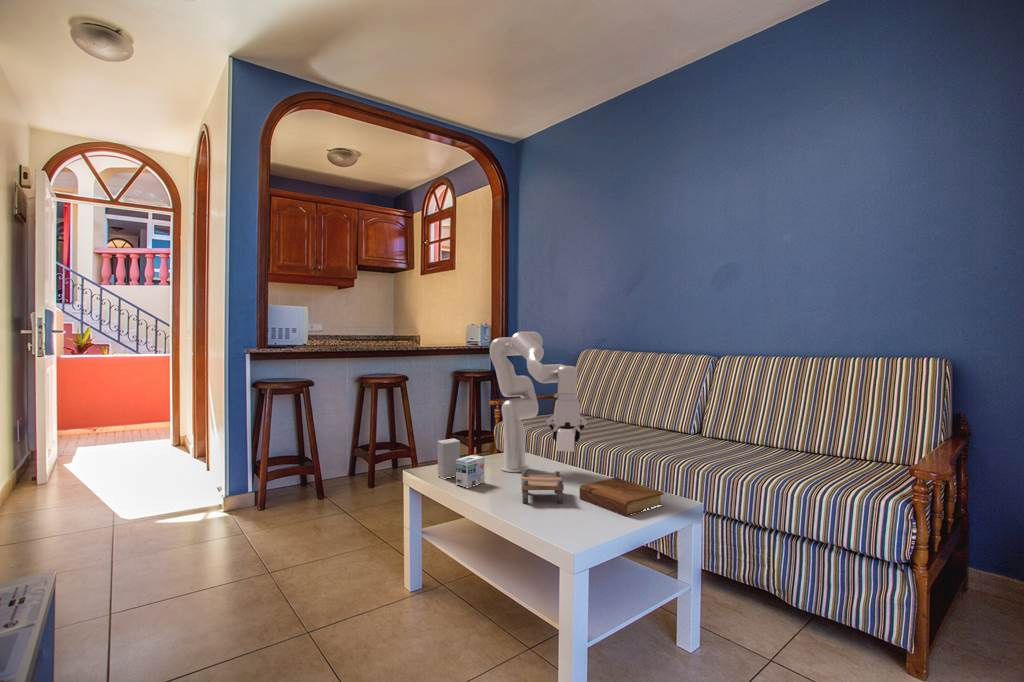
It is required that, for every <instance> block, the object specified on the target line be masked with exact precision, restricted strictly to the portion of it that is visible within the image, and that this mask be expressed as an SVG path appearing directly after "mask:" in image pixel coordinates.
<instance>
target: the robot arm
mask: <svg viewBox="0 0 1024 682" xmlns="http://www.w3.org/2000/svg"><path fill="white" fill-rule="evenodd" d="M543 343H544V341H543V337H542V335H541V334H540V333H538V332H537V331H517V332H515V333H514V334H513V335H512V336H511V337H508V336H507V337H498V338H495V339H493V340H492V341H491V343H490V346H489V357H490V360H491V363H492V364H493V367H494V370H495V373H496V378H497V382H498V387H499V390H500V393H501V395H502V396H503V397H505V398H511V397H512V399H508V400H505V401H504V402H503V403H502V405H501V417H502V421H503V464H502V465H501V466H500V470H502V471H503V472H507V473H522V472H523V471H526V472H528V470H529V465H527V464H526V430H525V426H524V424H523V422H522V421H521V420H528V419H534V418H536V416H538V414H539V401H538V399H537V395H536V394H537V393H536V392H535V387H534V384H533V381H532V380H531V378H530V377H529V376H527V375H517V374H516V371H515V367H514V365H513V363H512V362H511V361H510V360H509V359H508V357H509V356H510V357H511V356H513V357H514V356H521V357H523V358H524V359H525V360H526V368H527V372H528V373H529V375H530V376H532V377H533V378H534V380H535V381H537V382H538V383H541V384H553V383H554V384H555V383H556V384H557V392H556V393H554V394H553V398H556V399H555V404H554V408H553V409H554V411H553V415H551V416H550V417H549V418H547V419H545V423H546V424H547V426H548V427H549V428H550V429H551V430H552V434H553V435H552V438H553V439H552V440H554V442H556V443H557V432H558V429H559V426H565V422H569V423H570V426H574V428H576V430H575V431H576V442H577V443H579V440H581V431H582V430H583V429H584V428H585V427H586V426H587V424H588V420H587V419H585V418H584V417H583V416H581V411H580V402H579V400H577V397H578V396H577V395H578V393H577V389H578V387H577V386H578V384H577V383H578V382H577V381H578V369H577V367H576V366H574V365H573V366H572V365H564V364H561V363H557V364H556V363H555V364H554V363H552V364H549V363H548V364H543V363H542V362H540V361H542V359H543V357H544V355H545V350H544V348H543ZM513 397H520V398H513ZM552 421H553V424H554V425H553V424H552V423H551V422H552ZM581 421H582V424H581V425H580V423H581Z"/></svg>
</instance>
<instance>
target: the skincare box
mask: <svg viewBox="0 0 1024 682" xmlns="http://www.w3.org/2000/svg"><path fill="white" fill-rule="evenodd" d="M460 458H461V441H460V440H459V439H456V438H449V439H448V438H447V439H443V440H442V439H441V440H437V475H438V474H439V475H440V476H441V477H443V478H446V477H453V476H456V459H460Z"/></svg>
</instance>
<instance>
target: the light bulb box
mask: <svg viewBox="0 0 1024 682" xmlns="http://www.w3.org/2000/svg"><path fill="white" fill-rule="evenodd" d="M482 482H484V483H485V456H480V455H475V454H471V455H468V456H464V457H460V459H456V477H455V485H456V484H457V485H460V486H464V487H470V486H473V485H476V484H479V483H482ZM460 486H459V487H460ZM476 486H477V485H476ZM464 487H463V488H464ZM473 487H474V486H473ZM470 488H471V487H470Z"/></svg>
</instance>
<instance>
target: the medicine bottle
mask: <svg viewBox="0 0 1024 682" xmlns="http://www.w3.org/2000/svg"><path fill="white" fill-rule="evenodd" d="M576 445H577V444H576V430H575V426H570V423H569V422H565V426H559V427H558V429H557V442H556V451H557V452H568V453H569V452H570V453H572V452H574V453H575V451H576Z"/></svg>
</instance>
